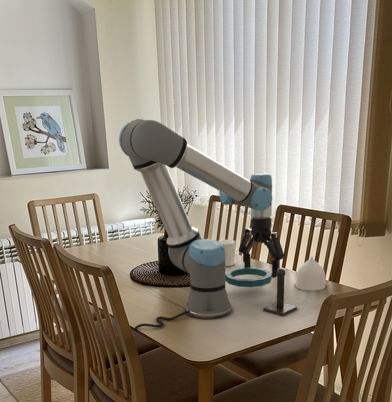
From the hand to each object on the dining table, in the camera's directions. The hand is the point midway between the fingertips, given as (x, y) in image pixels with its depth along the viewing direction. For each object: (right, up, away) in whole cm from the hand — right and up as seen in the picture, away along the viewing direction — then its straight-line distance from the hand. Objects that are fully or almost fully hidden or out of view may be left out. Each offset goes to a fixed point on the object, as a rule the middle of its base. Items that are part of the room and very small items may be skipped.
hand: (260, 273), depth 206 cm
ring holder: (+4, -13, -22) cm, 26 cm away
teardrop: (+19, -5, +1) cm, 19 cm away
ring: (-5, -2, -5) cm, 8 cm away
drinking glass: (-11, +6, +32) cm, 34 cm away
